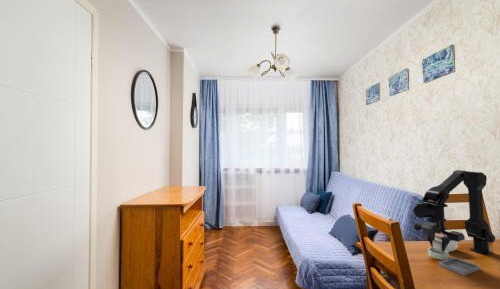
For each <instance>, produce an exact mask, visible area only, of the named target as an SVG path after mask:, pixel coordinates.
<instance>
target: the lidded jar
mask: <svg viewBox="0 0 500 289" xmlns="http://www.w3.org/2000/svg"><path fill="white" fill-rule="evenodd" d="M440 237H443V235H442V234H438V233H435V240H438V241H442V240H441V238H440ZM458 246H459V241H453V240H451V241H450V242H449V244H448V246H447V247H446V249H445V250H446V251H448V252H454V251H456V250H457V248H458Z"/></svg>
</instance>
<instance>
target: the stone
mask: <svg viewBox="0 0 500 289" xmlns="http://www.w3.org/2000/svg"><path fill="white" fill-rule="evenodd" d="M433 251H434V252H437V253H444V251H442V241H438V240H433Z"/></svg>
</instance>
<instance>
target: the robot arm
mask: <svg viewBox="0 0 500 289" xmlns="http://www.w3.org/2000/svg"><path fill="white" fill-rule="evenodd" d="M487 180H488V178H487V175H486V174H485V173H483V172H479V171H466V170H461V169H456V170H454V171H453V172H452V174H450V175H449V176H448V177H447V178H446V179H444V180H443V181H442V182H441V183H440V184H439V185H436V186H432V187H430V188H429V189H427V190H426V191H425V193H424V195H423V197H422V199H421V201H420V202H418V203H416V205H415V206H414V207H413V214H414V216H415V217H417V218H419V219H425V218H426V220H427V221H425V222H422V221H421V222H420V221H419V222H415V223H414V224H413V230H416V231H419V232H421V233H422V234H423V235H425V236H426V237H427V240H428V242H429V244H430V246H431V247H432V248H433V240H435V233H438V234H442V235H443V237H440V238H441V240H442V251H445V249H446V247H447V246H448V244H449V242H450V241H451V240H453V241H458V242H462V241H465V240H466V237H465V235H464V233H463V232H460V231H455V230H452V231H447V227H446V223H445V222H447V219H446V218H445V208H448V204H447V203H446V201H448V200H449V198H450V193H451V192H452V191H453V190H454V189H456V188H457V187H458V186H460V184H462V182H463V185H464V186H465V187H466V188H467V193H468V194H467V195H468V210H469V212H468V213H469V218H468V219H467V220H465V221H464V229H465V232H466V234H467V237H470V238H472V242H473V243H472V245H473V247H471V248H469V250H470V251H473V252H477V253H480V254H483V255H491V254H494V251H493V250H490V243H491V244H492V243H494V242H496V236H495V235H494V234H493V233H492V232H491V230H490V226H489V224H488V223H487V221H486V220H485V218H484V202H483V189H484V188H485V187H486V186H487Z"/></svg>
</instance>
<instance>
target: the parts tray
mask: <svg viewBox="0 0 500 289" xmlns="http://www.w3.org/2000/svg"><path fill="white" fill-rule="evenodd" d="M438 266H439V267H441V268H444V269H446V270H448V271H451V272H453V273H456V274H459V275H461V276H464V277H465V276H467V275H469V274H473V273H475V272H477V271H480V270H481V265H478V264H475V263H472V262H470V261H466V260H464V259H461V258H457V257H455V256H454V257H451V258H449V259H448V260H442V261H440V262H438Z"/></svg>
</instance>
